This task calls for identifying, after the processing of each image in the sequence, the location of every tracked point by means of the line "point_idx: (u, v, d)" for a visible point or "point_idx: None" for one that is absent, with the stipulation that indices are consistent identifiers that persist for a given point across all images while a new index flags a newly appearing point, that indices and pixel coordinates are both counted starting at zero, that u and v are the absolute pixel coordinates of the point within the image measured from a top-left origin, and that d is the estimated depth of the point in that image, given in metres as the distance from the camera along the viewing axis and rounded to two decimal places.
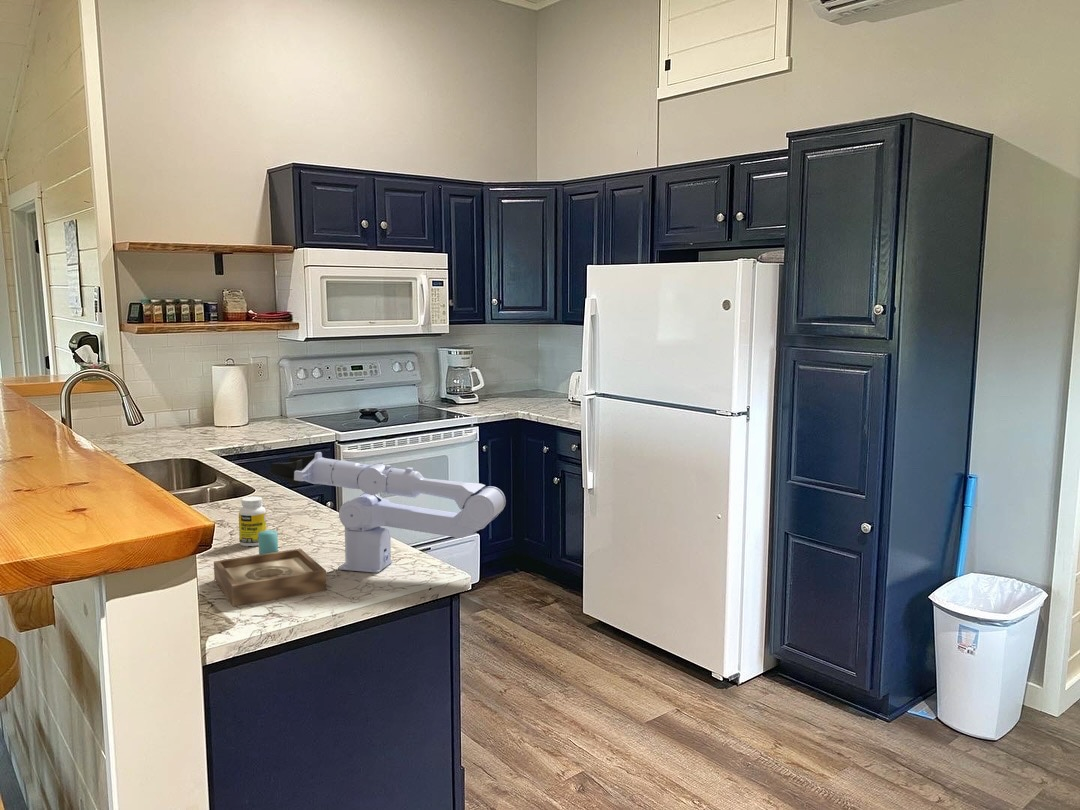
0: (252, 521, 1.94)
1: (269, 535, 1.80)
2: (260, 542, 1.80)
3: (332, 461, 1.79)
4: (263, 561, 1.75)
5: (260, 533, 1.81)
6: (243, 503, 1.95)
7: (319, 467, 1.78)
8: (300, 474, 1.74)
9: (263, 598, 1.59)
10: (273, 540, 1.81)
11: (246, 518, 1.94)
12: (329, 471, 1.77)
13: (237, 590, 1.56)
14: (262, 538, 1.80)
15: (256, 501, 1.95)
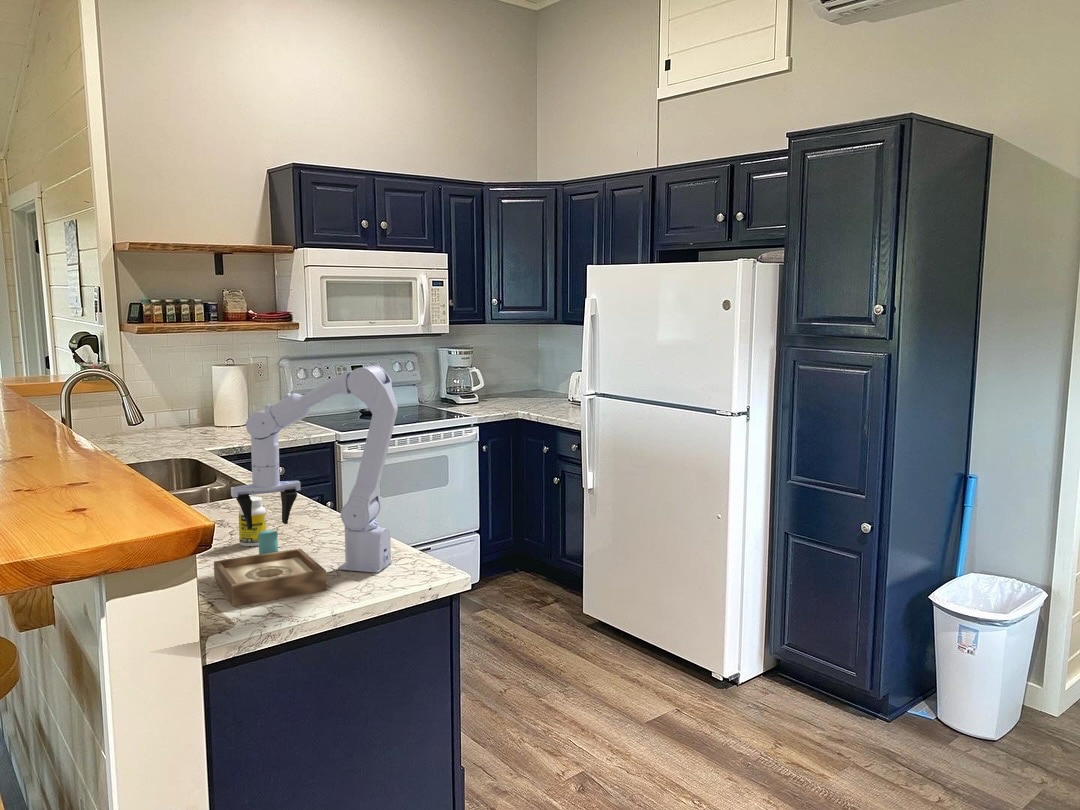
0: (252, 521, 1.94)
1: (269, 535, 1.80)
2: (260, 542, 1.80)
3: None
4: (263, 561, 1.75)
5: (260, 533, 1.81)
6: None
7: None
8: (231, 489, 1.77)
9: (263, 598, 1.59)
10: (273, 540, 1.81)
11: None
12: None
13: (237, 590, 1.56)
14: (262, 538, 1.80)
15: (256, 501, 1.95)
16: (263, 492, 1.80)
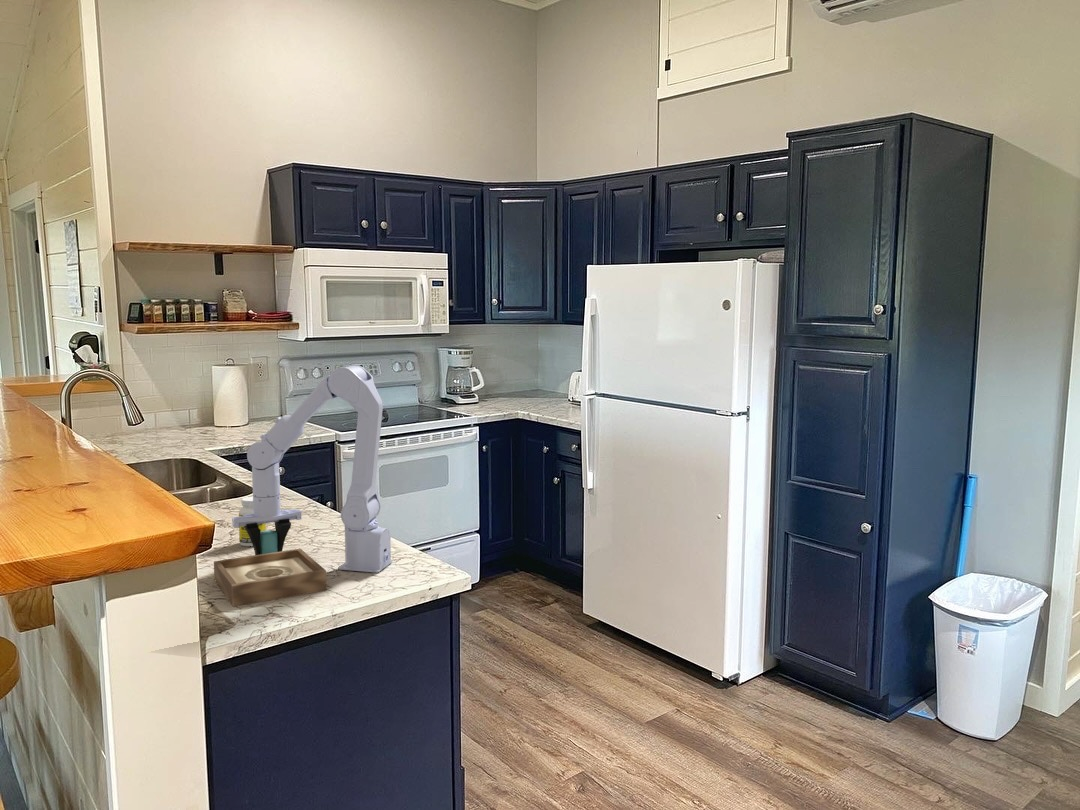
0: None
1: (269, 535, 1.80)
2: (260, 542, 1.80)
3: None
4: (263, 561, 1.75)
5: (260, 533, 1.81)
6: (243, 503, 1.95)
7: None
8: (232, 520, 1.78)
9: (263, 598, 1.59)
10: (273, 540, 1.81)
11: None
12: (253, 497, 1.80)
13: (237, 590, 1.56)
14: (262, 538, 1.80)
15: None
16: (264, 522, 1.81)
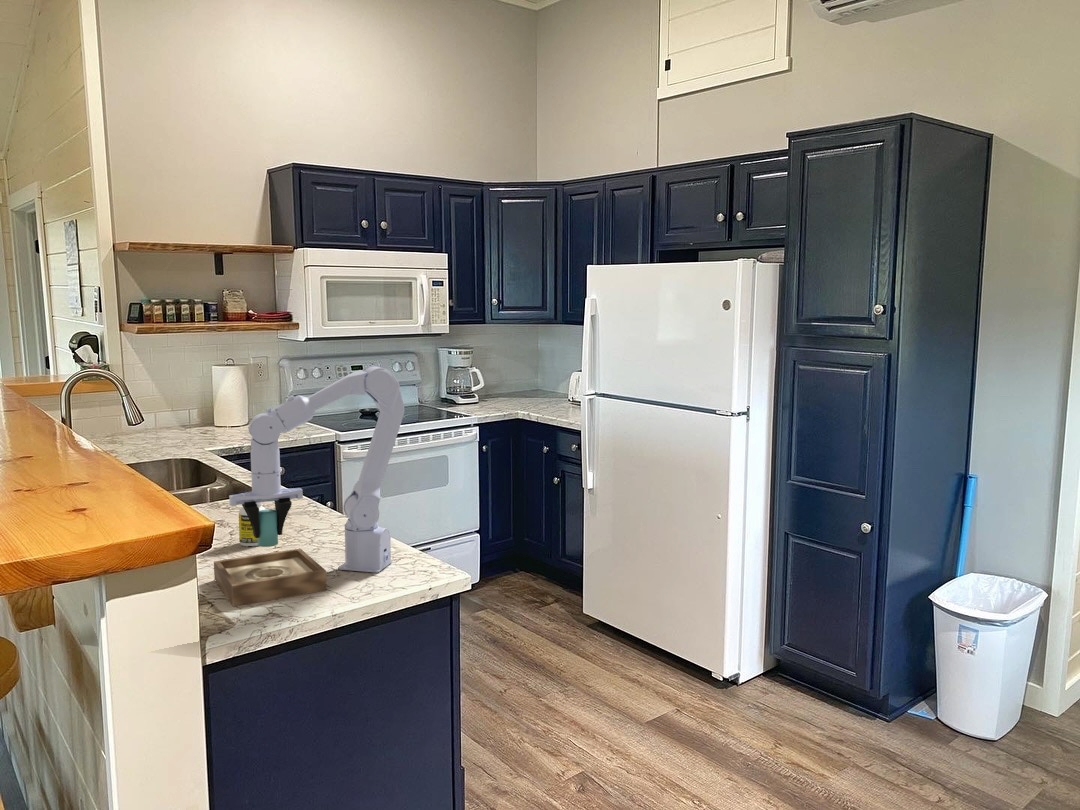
0: None
1: (268, 514, 1.70)
2: (258, 521, 1.71)
3: None
4: (263, 561, 1.75)
5: (259, 512, 1.71)
6: None
7: None
8: (229, 497, 1.68)
9: (263, 598, 1.59)
10: (272, 519, 1.71)
11: (246, 518, 1.94)
12: (251, 474, 1.70)
13: (237, 590, 1.56)
14: (260, 518, 1.70)
15: None
16: (263, 500, 1.71)
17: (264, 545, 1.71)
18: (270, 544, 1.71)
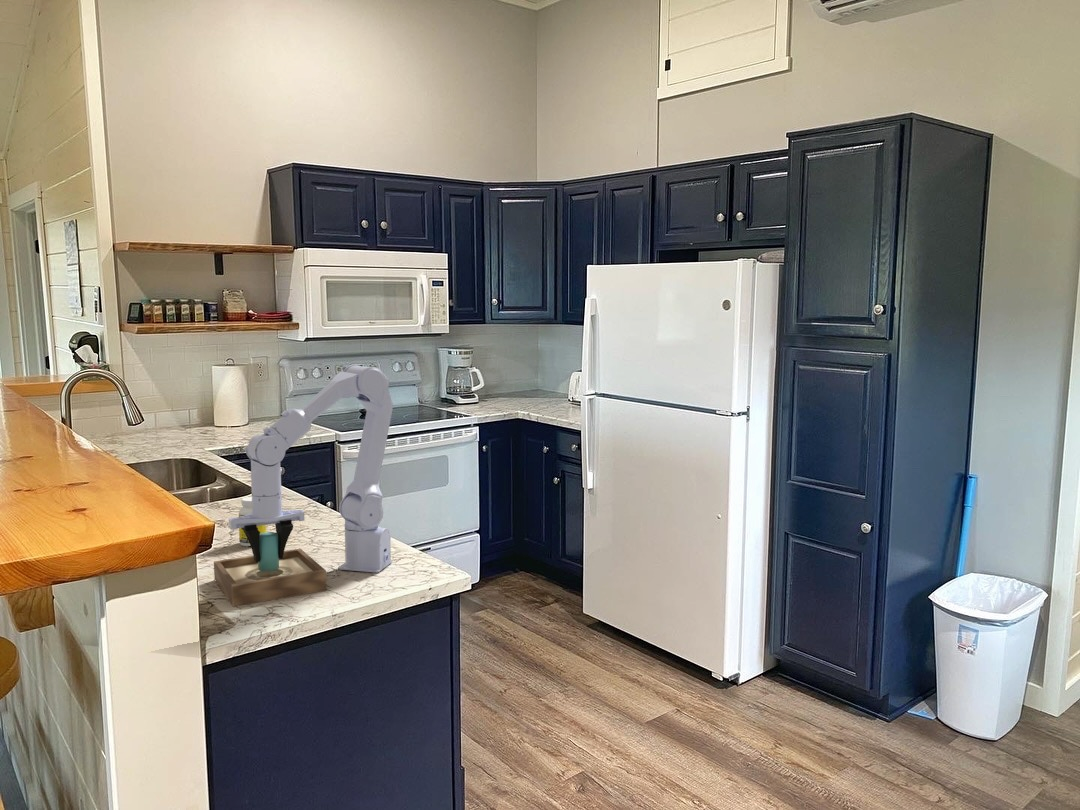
0: None
1: (269, 537, 1.65)
2: (259, 545, 1.66)
3: None
4: None
5: None
6: (243, 503, 1.95)
7: None
8: (229, 521, 1.63)
9: (263, 598, 1.59)
10: (273, 543, 1.66)
11: None
12: None
13: (237, 590, 1.56)
14: (261, 541, 1.65)
15: None
16: (264, 523, 1.66)
17: (265, 569, 1.66)
18: (271, 568, 1.66)
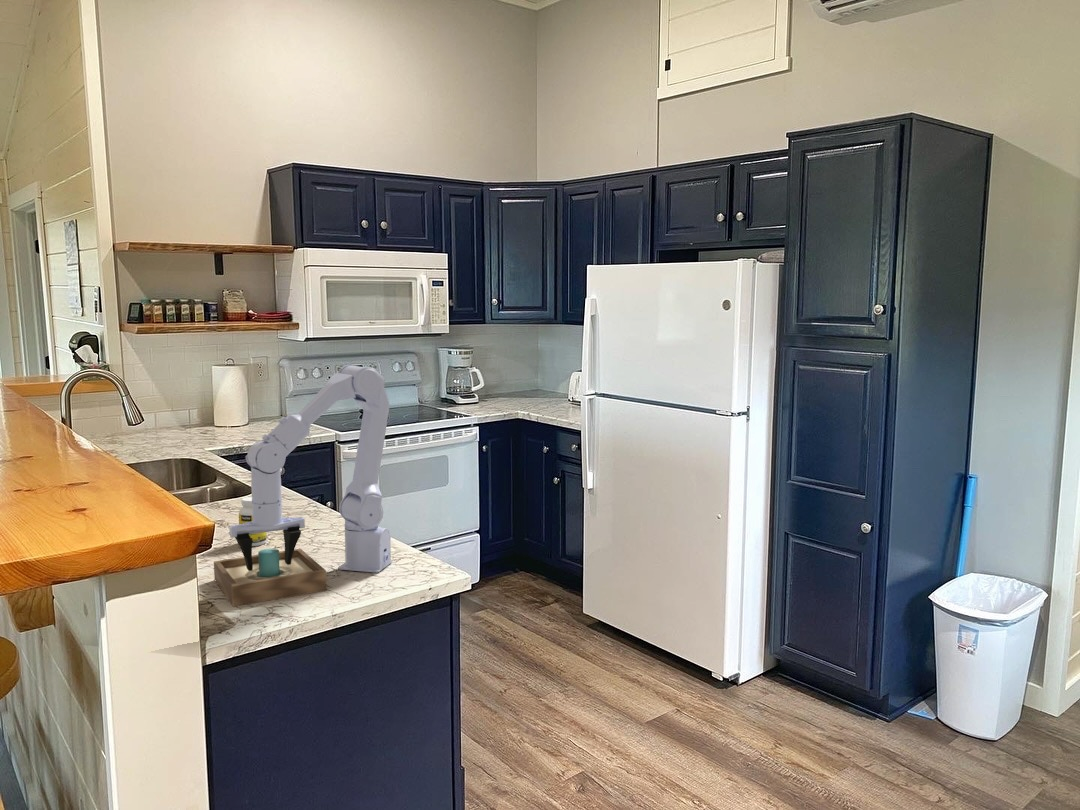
0: None
1: (270, 555, 1.66)
2: (260, 562, 1.66)
3: None
4: None
5: (260, 552, 1.67)
6: (243, 503, 1.95)
7: None
8: (229, 528, 1.63)
9: (263, 598, 1.59)
10: (274, 560, 1.66)
11: (246, 518, 1.94)
12: (252, 504, 1.65)
13: (237, 590, 1.56)
14: (262, 558, 1.66)
15: None
16: (264, 531, 1.66)
17: None
18: None
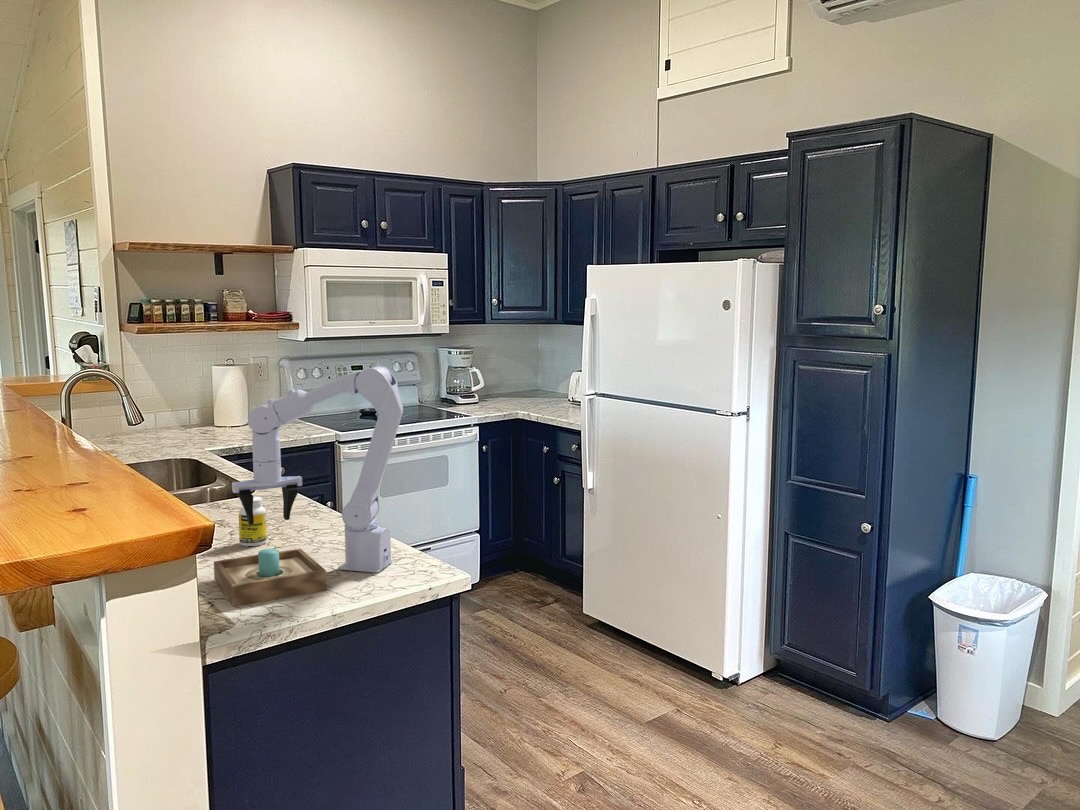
0: None
1: (270, 555, 1.66)
2: (260, 562, 1.66)
3: None
4: None
5: (260, 552, 1.67)
6: None
7: None
8: (232, 485, 1.75)
9: (263, 598, 1.59)
10: (274, 560, 1.66)
11: (246, 518, 1.94)
12: (253, 462, 1.78)
13: (237, 590, 1.56)
14: (262, 558, 1.66)
15: (256, 501, 1.95)
16: (264, 487, 1.78)
17: None
18: None
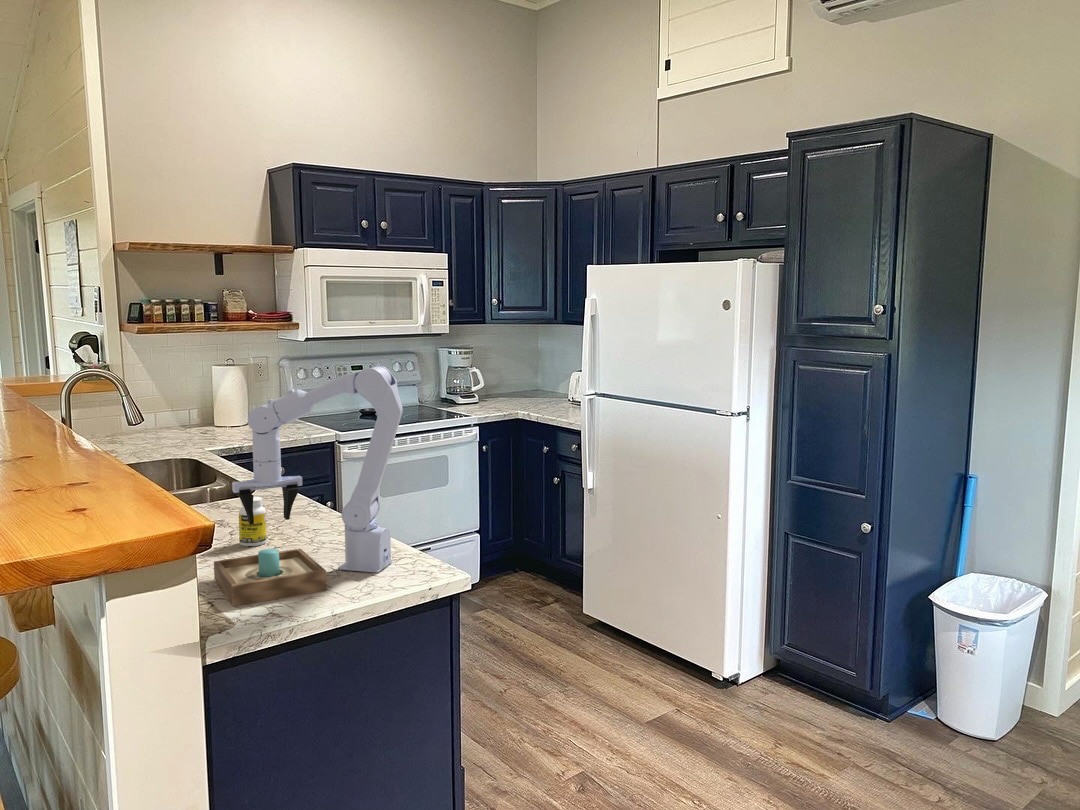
0: None
1: (270, 555, 1.66)
2: (260, 562, 1.66)
3: None
4: None
5: (260, 552, 1.67)
6: None
7: None
8: (232, 485, 1.76)
9: (263, 598, 1.59)
10: (274, 560, 1.66)
11: (246, 518, 1.94)
12: (253, 462, 1.78)
13: (237, 590, 1.56)
14: (262, 558, 1.66)
15: (256, 501, 1.95)
16: (265, 487, 1.79)
17: None
18: None
